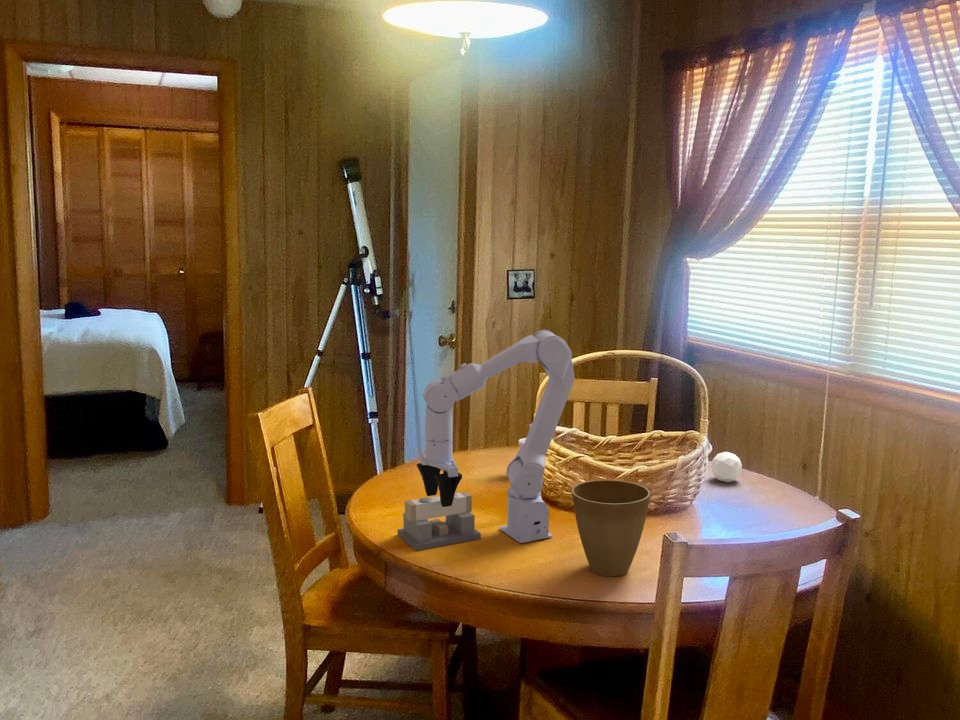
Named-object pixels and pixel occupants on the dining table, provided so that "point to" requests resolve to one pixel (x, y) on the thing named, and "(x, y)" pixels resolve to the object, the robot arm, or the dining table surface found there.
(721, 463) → the geometric ball
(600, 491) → the plant pot
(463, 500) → the frame bar
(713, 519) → the dining table surface
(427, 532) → the grey fixture base
